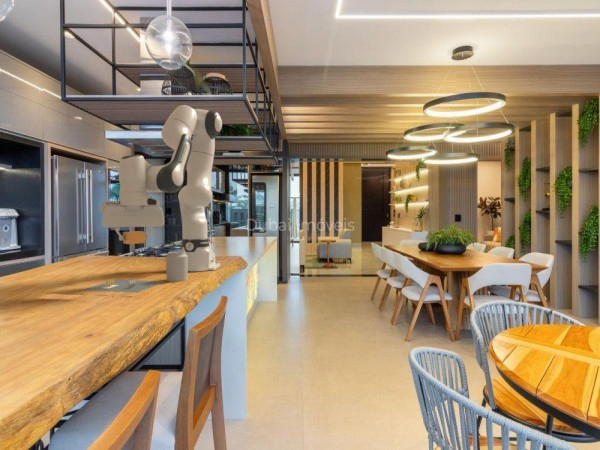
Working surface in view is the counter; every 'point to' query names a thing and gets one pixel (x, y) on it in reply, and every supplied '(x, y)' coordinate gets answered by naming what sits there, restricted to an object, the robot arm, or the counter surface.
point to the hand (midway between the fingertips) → (134, 239)
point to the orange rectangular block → (134, 237)
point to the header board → (124, 286)
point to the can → (177, 266)
